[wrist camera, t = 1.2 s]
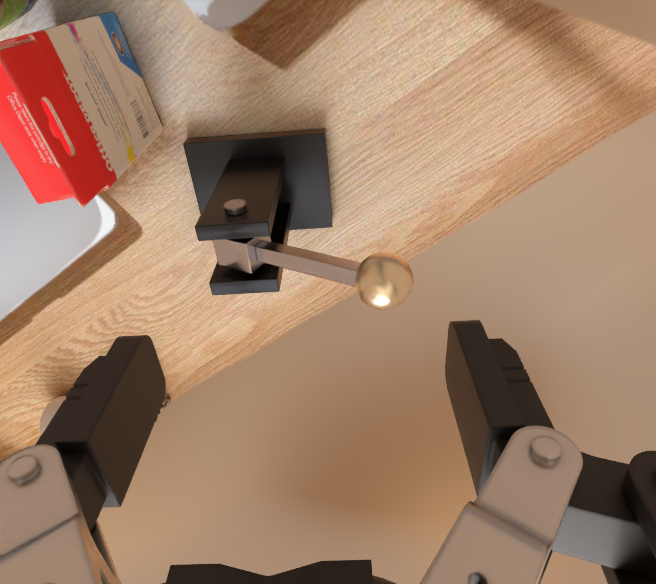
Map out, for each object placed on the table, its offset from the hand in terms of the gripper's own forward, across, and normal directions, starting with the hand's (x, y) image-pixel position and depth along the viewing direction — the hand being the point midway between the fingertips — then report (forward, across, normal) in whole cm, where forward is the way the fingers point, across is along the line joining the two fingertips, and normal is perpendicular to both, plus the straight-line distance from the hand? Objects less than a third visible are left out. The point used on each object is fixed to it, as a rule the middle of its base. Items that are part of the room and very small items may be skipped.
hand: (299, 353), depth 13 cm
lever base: (+29, +5, +5) cm, 30 cm away
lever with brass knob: (+17, 0, +6) cm, 18 cm away
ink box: (+29, +15, -3) cm, 33 cm away
